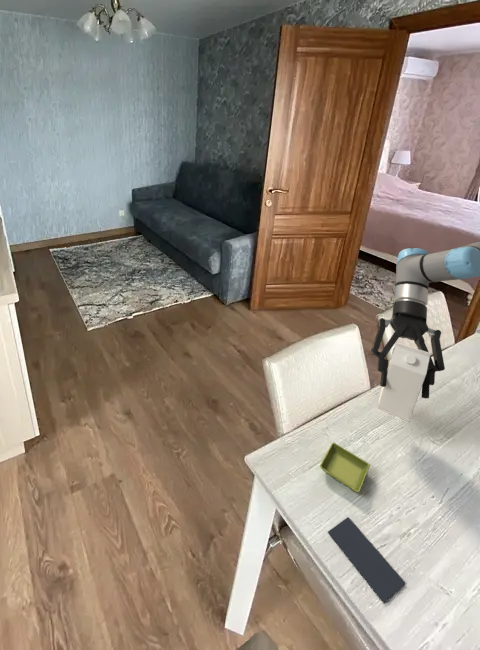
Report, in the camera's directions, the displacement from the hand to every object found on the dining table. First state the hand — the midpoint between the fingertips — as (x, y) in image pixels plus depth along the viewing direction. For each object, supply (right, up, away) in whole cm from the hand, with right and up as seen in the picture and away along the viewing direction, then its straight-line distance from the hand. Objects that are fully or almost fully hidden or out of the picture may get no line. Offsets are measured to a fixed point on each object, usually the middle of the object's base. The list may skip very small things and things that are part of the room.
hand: (403, 391), depth 85 cm
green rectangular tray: (-17, -18, -3) cm, 24 cm away
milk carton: (+1, -7, +6) cm, 9 cm away
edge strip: (-20, -24, -19) cm, 36 cm away
